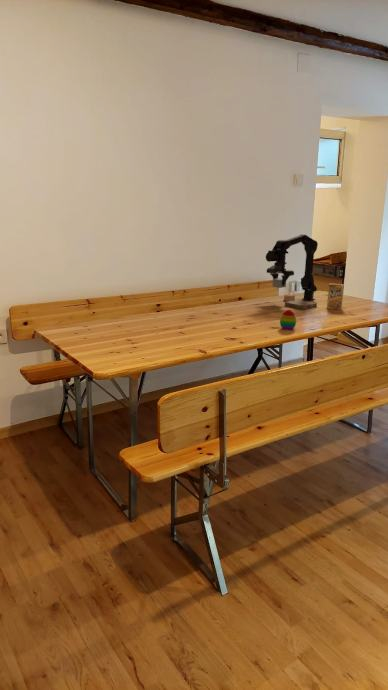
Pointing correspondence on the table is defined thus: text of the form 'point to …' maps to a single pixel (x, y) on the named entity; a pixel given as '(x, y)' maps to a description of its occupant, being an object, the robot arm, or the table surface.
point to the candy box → (335, 296)
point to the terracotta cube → (289, 297)
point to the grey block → (278, 283)
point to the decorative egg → (288, 320)
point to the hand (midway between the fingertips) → (279, 285)
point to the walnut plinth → (300, 304)
